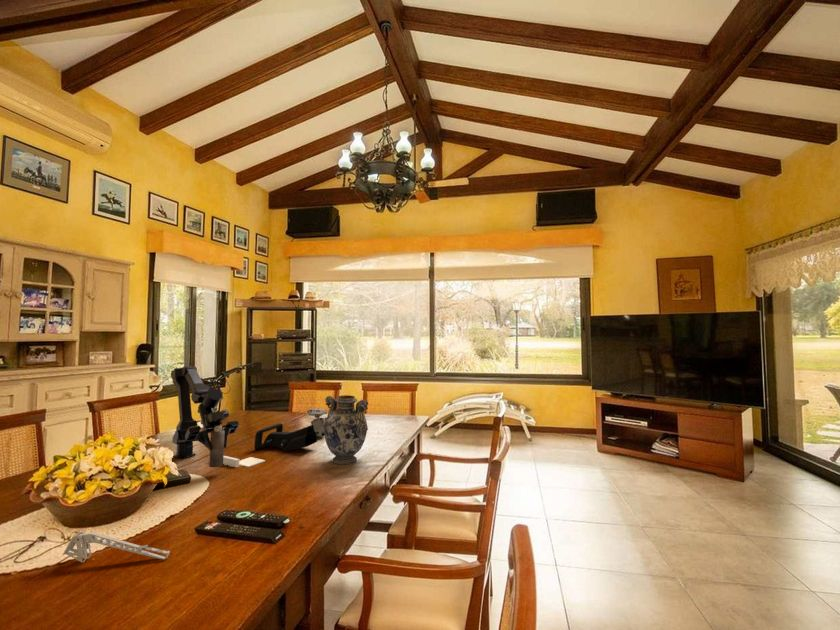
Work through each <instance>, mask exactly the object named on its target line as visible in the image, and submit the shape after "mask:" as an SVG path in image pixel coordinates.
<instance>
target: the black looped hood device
mask: <svg viewBox="0 0 840 630" xmlns="http://www.w3.org/2000/svg"><path fill="white" fill-rule="evenodd" d="M310 425H311V424H310ZM310 425H308V426H304V427H305V428H303V427H302V428H300V429H296V430H294V431H283V430H284V429H283V427H284V425H283V424H282V423H277V424H273V425H271V426H268V427H264V428H262V429H260V430H257V432H256V433H255V436H254V450H261V449H263V448H266V447H268V446H274V447H275V448H279V449H280V450H282V451H284V452H289V451H294V450H298V449H302V448H307V447H309V446H311V445H314V444H316V443H317V441H318V438H317V435H316V432H315V431H314V427H313V425H311V426H310ZM275 429H276V430H275ZM271 430H275V431H273V432H270V433H268V434H267V436H266V437H265V439H264V441H263V434H264V433H266V432H268V431H271Z"/></svg>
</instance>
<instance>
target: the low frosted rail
mask: <svg viewBox="0 0 840 630" xmlns="http://www.w3.org/2000/svg"><path fill="white" fill-rule="evenodd" d="M239 461H240V458H236V457H232V456H227V455H224V457H223V464H224V465H223V466H227V465H228V466H227V467H231V468H239V467H240V465H239Z"/></svg>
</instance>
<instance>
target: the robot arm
mask: <svg viewBox="0 0 840 630" xmlns="http://www.w3.org/2000/svg"><path fill="white" fill-rule="evenodd" d="M170 378H171V380H172V384H173V385H174V386H175V387H176V390H177V401H178V413H179V422H178V423H177V425H176V427H175V432H174V434H173V436H172V443H173V444H175V445H176V451H175V452H176V453H175V454H173V455H174V457H173V458H177V459H182V460H183V459H187V458H190V457H193V456H196V455H197V454H196V453H194V450H193V449H194V442H199V443H200V444H202V445H203V446H204V447H206V448H207V449H208V450H209V452H210V451H212V445H211V442H210V441H211V438H210V437H209V434H211V431H214V428H215V427H216V426H221V427H222V430H224V431H225V436H224V449H226V448H227V443H228V435H231V434H234V433H237V430H238V428H239V427H240V422H239V421H238V420H237V419H235V420H229V421H227V422H226V423H225V424H224V425H222V423H223V420H225V419H227V418H229V416H230V413H229V410H228V409H226V408H225V409H222V410H220V411H216V408H217V406H218V405H219V403H220V401H221V400H222V398H223V392H222V391H221V390H220V389H218V388H216V387H215V386H209V385H206V384H205V383H204V381H203V379H202V378H201V376H200V375H199V372H198V368H197V366H194V365H189V366H185V365H184V366H183V367H176V368H173V370H171V372H170ZM190 390H191V391H192V392H191V391H190ZM191 401H192V402H191ZM191 403H193V404H199V405H198V407H197V413H198V414H199V417H200V419H201V421H200V424H201V425H202V427H201V426H200V425H198V421H197V420H195V419H193V415H192V413H193V412H192V404H191Z"/></svg>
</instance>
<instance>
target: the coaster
mask: <svg viewBox="0 0 840 630" xmlns="http://www.w3.org/2000/svg"><path fill="white" fill-rule="evenodd" d="M264 462H266V460H265V459H261V458H257V457H252V456H249V457H246V458H243V459H241V460H240V459H239V466H241V467H246V468H250V467H253V466H256V465H259V464H262V463H264Z"/></svg>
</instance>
